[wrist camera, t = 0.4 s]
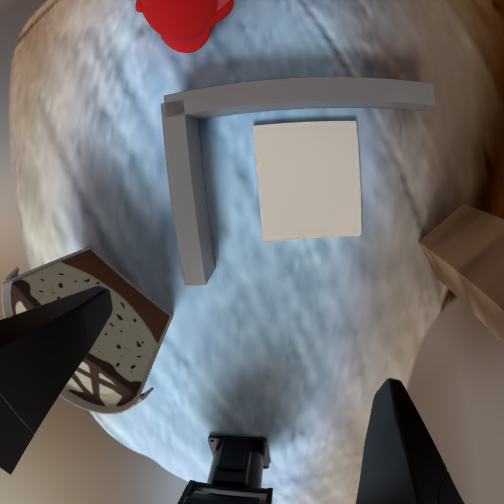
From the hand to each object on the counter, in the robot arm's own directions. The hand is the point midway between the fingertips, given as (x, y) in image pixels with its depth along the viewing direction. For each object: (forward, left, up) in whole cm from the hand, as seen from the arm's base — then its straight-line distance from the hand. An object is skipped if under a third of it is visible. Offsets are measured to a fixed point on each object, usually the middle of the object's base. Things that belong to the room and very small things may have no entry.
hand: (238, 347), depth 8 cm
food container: (-6, +14, -14) cm, 21 cm away
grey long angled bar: (+3, -3, -14) cm, 15 cm away
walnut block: (-2, -15, -14) cm, 20 cm away
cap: (+17, +4, -14) cm, 23 cm away
